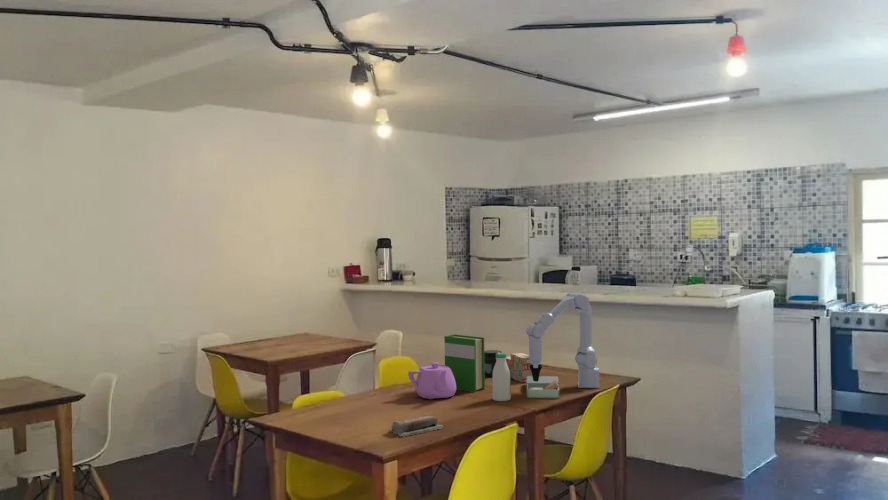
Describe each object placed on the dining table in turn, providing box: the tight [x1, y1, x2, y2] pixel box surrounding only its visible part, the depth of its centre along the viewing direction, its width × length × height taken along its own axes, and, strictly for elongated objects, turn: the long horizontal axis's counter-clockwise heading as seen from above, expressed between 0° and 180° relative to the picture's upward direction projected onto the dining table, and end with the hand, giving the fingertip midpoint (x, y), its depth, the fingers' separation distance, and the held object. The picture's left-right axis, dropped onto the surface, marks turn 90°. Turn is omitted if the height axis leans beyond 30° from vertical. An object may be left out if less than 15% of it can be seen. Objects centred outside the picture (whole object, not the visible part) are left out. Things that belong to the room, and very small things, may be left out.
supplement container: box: [484, 349, 503, 378], centre depth 362 cm, size 10×10×12 cm
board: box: [525, 375, 560, 390], centre depth 330 cm, size 14×15×4 cm
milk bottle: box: [492, 352, 512, 402], centre depth 309 cm, size 8×8×20 cm
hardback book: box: [443, 334, 486, 393], centre depth 332 cm, size 18×7×24 cm, turn 50°
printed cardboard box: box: [506, 352, 533, 384], centre depth 354 cm, size 21×6×12 cm, turn 21°
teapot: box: [407, 361, 457, 400], centre depth 314 cm, size 23×21×15 cm
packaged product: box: [388, 415, 444, 438], centre depth 264 cm, size 18×5×10 cm
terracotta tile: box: [544, 380, 560, 390], centre depth 319 cm, size 6×6×2 cm
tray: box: [526, 384, 560, 399], centre depth 317 cm, size 14×12×4 cm
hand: (535, 381), depth 322 cm, fingers closed
